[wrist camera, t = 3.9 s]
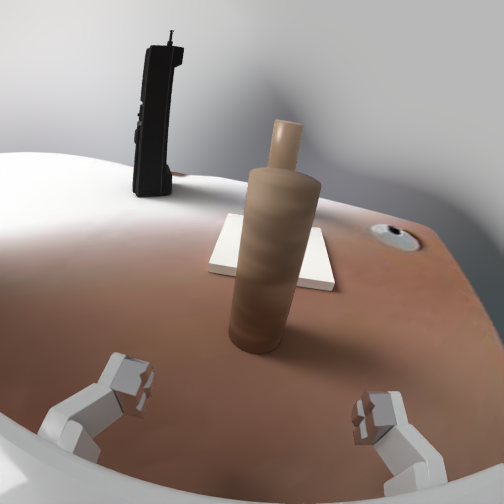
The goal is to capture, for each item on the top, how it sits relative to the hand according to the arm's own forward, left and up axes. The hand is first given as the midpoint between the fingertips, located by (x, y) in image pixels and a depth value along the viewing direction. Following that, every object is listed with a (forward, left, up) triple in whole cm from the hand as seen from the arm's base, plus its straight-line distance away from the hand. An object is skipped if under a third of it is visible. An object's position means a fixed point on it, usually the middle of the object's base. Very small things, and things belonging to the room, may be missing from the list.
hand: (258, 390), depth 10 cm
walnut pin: (0, +10, -7) cm, 12 cm away
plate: (+1, +23, -7) cm, 24 cm away
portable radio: (-19, +37, -7) cm, 42 cm away
